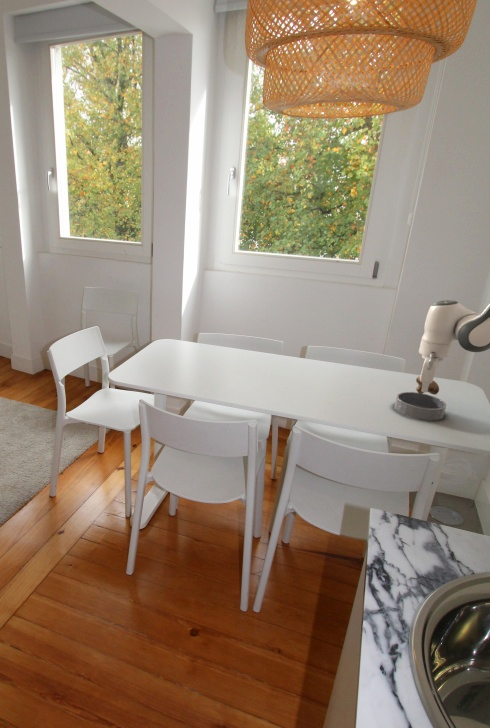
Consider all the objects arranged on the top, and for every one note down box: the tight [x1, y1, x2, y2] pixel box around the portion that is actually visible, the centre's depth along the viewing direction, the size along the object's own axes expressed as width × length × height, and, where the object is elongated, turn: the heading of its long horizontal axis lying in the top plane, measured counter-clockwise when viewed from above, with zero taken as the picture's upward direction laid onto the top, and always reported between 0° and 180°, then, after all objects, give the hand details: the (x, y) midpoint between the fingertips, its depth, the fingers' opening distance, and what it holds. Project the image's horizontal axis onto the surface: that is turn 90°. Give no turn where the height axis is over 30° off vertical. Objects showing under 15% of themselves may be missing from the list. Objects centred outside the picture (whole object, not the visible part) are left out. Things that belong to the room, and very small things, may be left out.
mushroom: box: [415, 376, 440, 396], centre depth 161 cm, size 8×8×6 cm
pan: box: [394, 391, 447, 421], centre depth 164 cm, size 15×15×4 cm
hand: (425, 387), depth 162 cm, fingers closed on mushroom, 7 cm apart
